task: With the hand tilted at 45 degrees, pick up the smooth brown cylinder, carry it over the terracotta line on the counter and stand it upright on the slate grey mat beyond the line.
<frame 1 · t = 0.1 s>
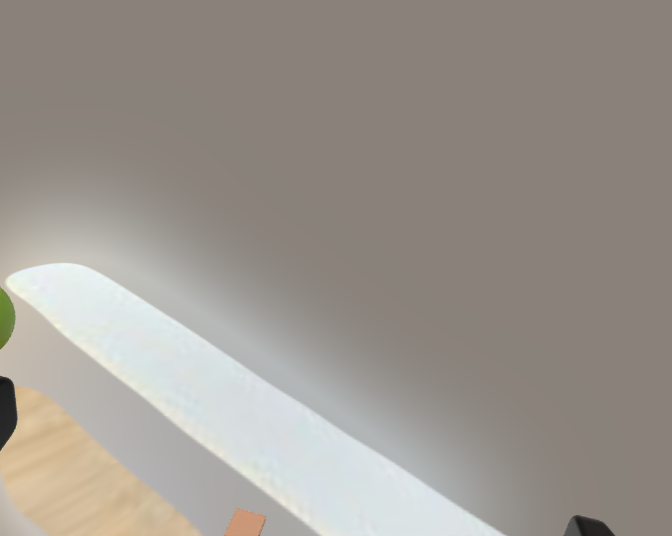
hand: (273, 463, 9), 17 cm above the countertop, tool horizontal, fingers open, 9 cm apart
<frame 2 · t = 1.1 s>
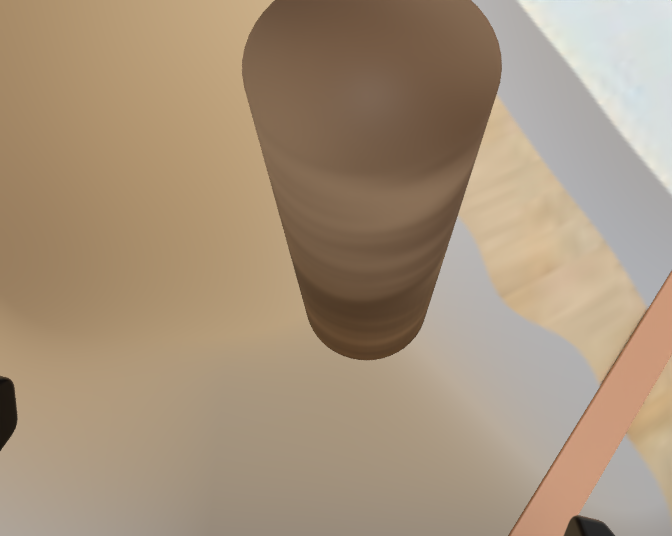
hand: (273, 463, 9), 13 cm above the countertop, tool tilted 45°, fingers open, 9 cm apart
smooth brown cylinder: (366, 300, 24), on the countertop
terracotta line strip: (569, 478, 21), on the countertop
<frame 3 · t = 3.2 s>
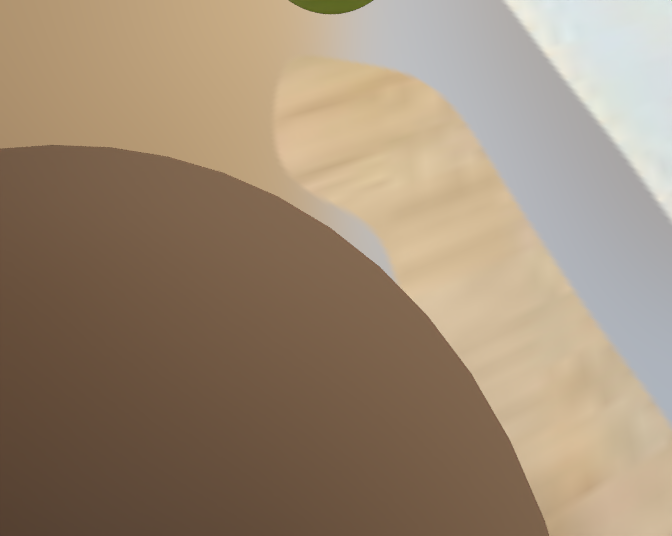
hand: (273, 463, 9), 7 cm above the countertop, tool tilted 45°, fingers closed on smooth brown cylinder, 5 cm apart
snail figurine: (326, 4, 22), on the countertop
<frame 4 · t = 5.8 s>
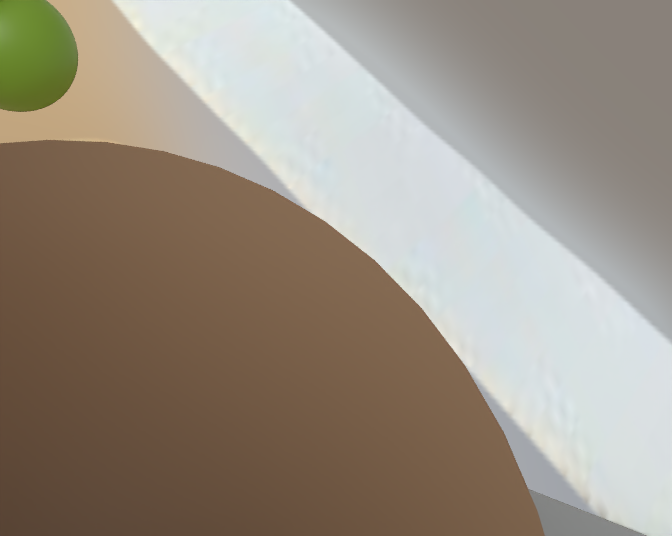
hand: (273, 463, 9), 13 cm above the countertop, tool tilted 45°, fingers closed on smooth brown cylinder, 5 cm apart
snail figurine: (39, 99, 29), on the countertop
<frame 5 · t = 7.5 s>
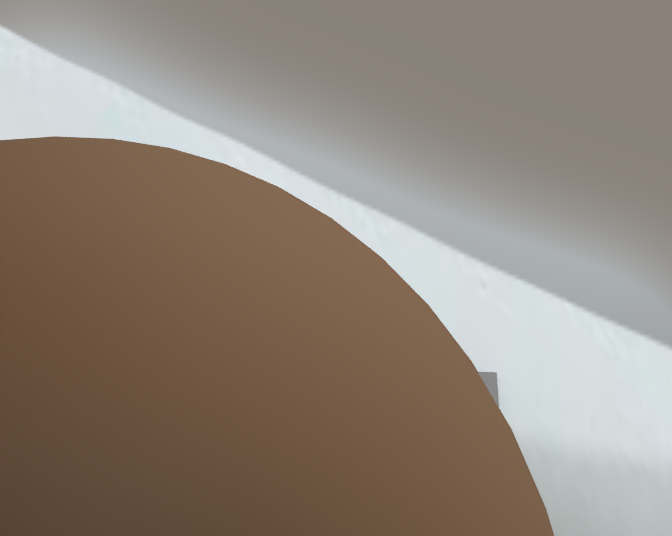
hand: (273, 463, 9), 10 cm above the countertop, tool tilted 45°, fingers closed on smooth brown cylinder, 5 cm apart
when the fingers open (9 cm above the countertop, at t = 8.6 s): smooth brown cylinder drops 1 cm, resting on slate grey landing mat.
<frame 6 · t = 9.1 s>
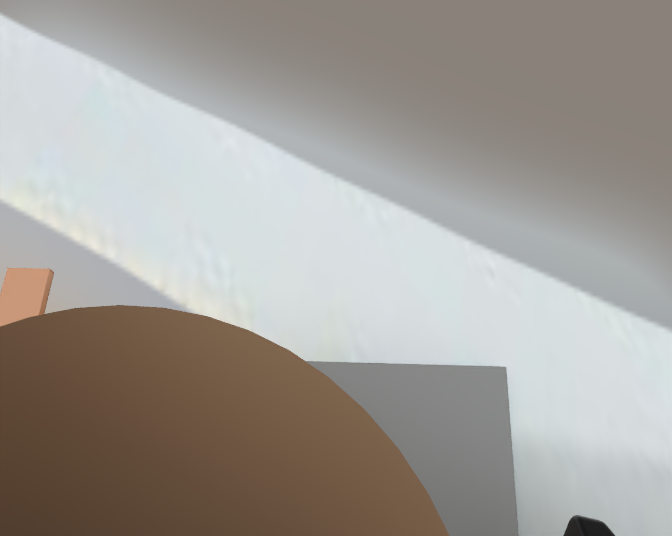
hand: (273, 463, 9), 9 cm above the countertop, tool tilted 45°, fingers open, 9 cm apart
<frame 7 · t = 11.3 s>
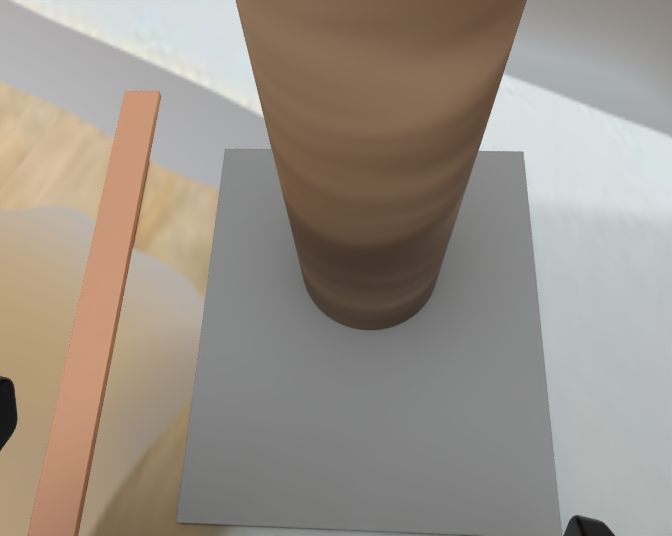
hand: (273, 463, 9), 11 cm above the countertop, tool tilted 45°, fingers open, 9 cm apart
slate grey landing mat: (369, 319, 21), on the countertop
smooth brown cylinder: (369, 265, 22), resting on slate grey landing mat
terracotta line strip: (100, 312, 22), on the countertop
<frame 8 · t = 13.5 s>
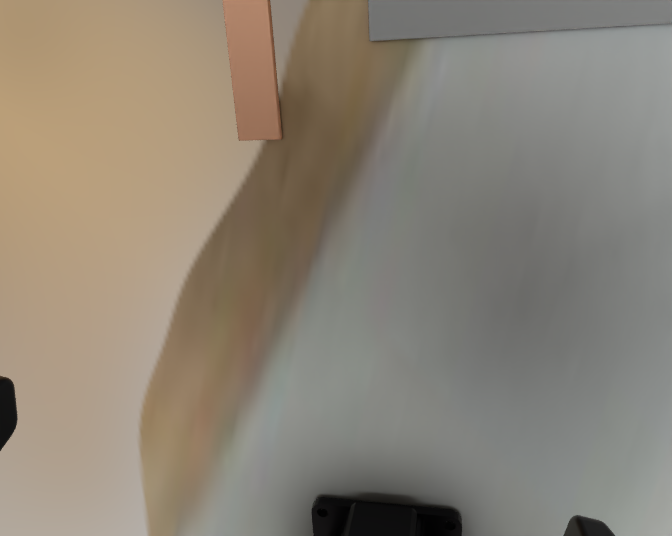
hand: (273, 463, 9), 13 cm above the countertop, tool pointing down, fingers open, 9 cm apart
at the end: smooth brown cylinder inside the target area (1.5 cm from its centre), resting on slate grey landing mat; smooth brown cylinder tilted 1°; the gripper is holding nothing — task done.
